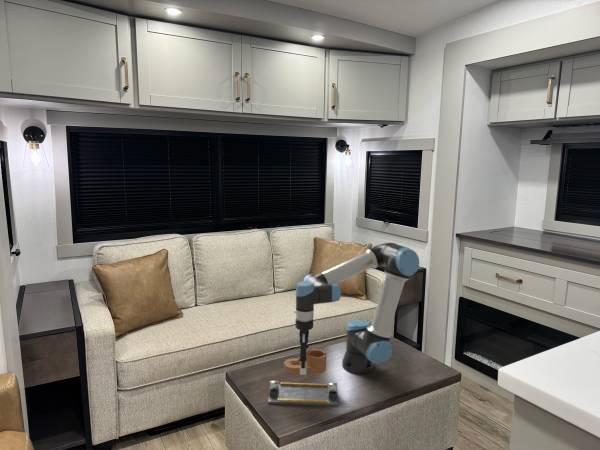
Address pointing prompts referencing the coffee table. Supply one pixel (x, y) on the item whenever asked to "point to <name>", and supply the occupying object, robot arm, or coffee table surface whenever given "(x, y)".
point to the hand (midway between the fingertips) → (303, 368)
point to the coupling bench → (303, 394)
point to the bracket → (308, 363)
